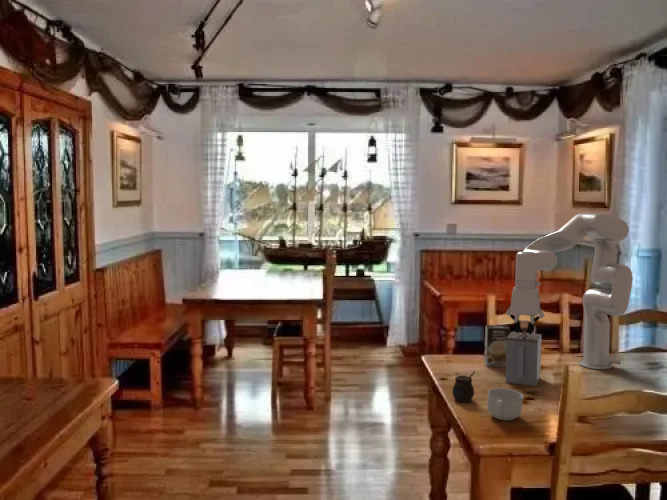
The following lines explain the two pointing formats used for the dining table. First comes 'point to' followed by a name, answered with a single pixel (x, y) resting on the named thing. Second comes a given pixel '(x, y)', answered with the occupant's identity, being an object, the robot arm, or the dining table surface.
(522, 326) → the plunger
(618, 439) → the dining table surface
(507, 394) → the teacup
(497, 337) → the coffee box
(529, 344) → the press
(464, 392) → the mate gourd
